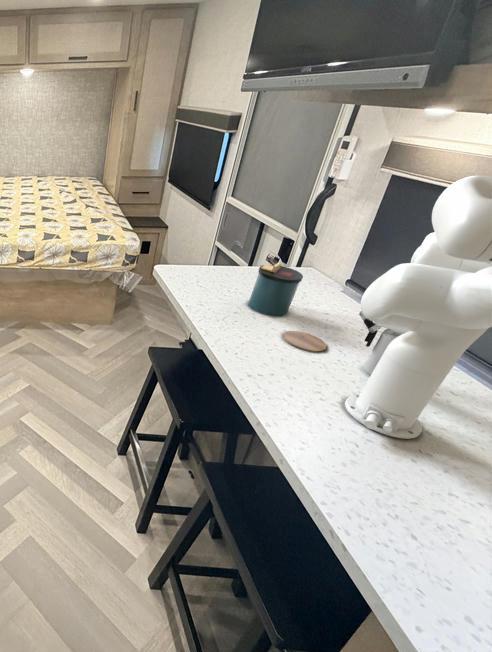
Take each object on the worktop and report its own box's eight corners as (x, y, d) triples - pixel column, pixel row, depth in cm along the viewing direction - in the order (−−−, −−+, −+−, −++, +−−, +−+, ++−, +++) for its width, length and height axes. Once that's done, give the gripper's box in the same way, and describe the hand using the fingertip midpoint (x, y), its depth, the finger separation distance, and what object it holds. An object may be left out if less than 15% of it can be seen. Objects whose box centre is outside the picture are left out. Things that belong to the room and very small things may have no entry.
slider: (274, 272, 125) (277, 266, 124) (260, 268, 127) (262, 262, 126) (279, 269, 127) (281, 263, 126) (265, 265, 130) (267, 259, 129)
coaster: (320, 356, 108) (321, 355, 108) (278, 340, 114) (279, 339, 114) (330, 343, 113) (330, 341, 113) (289, 328, 120) (290, 327, 120)
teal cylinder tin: (281, 321, 124) (296, 283, 118) (241, 307, 132) (253, 271, 126) (293, 309, 131) (308, 272, 125) (254, 296, 139) (266, 261, 132)
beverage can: (363, 364, 105) (384, 326, 99) (387, 373, 101) (410, 334, 96) (361, 373, 102) (382, 334, 96) (386, 381, 98) (409, 342, 93)
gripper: (370, 279, 94) (339, 341, 102) (479, 306, 82) (434, 374, 90) (377, 270, 98) (346, 331, 106) (481, 295, 86) (437, 361, 95)
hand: (387, 350), depth 98 cm, fingers open, 6 cm apart
